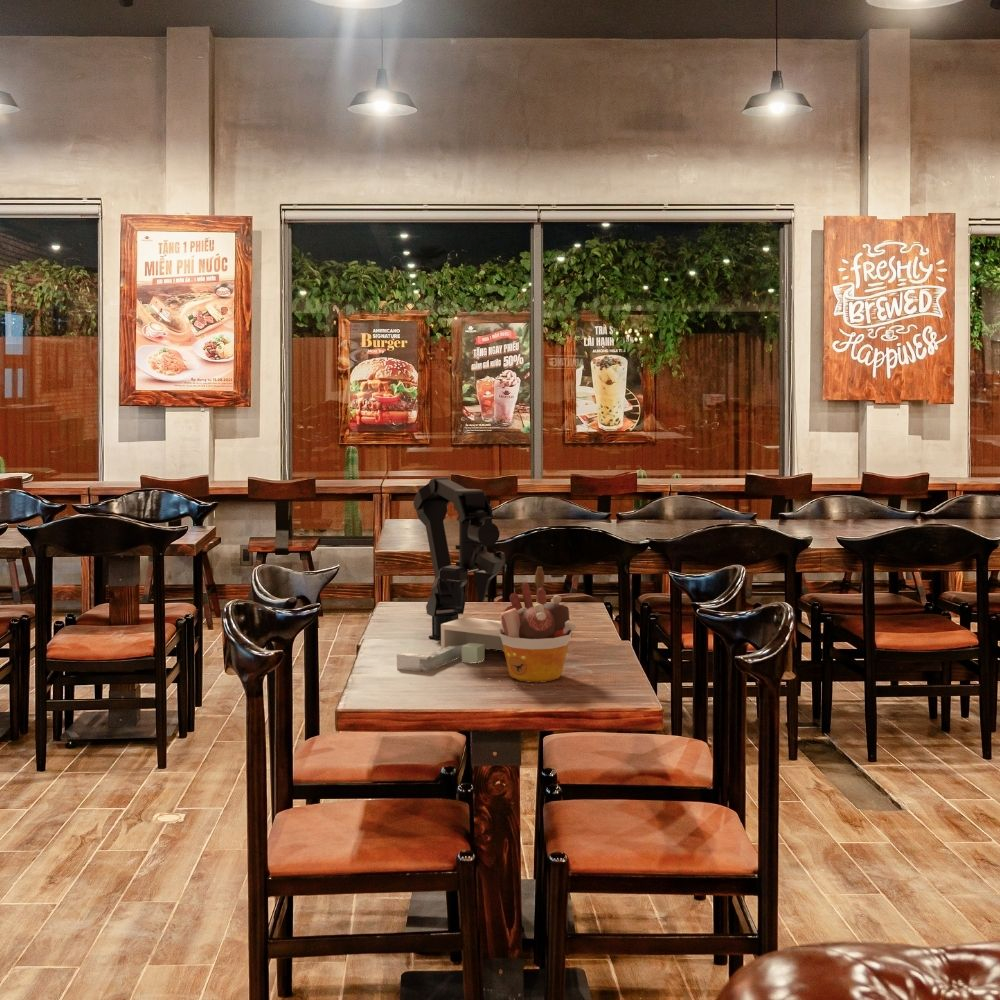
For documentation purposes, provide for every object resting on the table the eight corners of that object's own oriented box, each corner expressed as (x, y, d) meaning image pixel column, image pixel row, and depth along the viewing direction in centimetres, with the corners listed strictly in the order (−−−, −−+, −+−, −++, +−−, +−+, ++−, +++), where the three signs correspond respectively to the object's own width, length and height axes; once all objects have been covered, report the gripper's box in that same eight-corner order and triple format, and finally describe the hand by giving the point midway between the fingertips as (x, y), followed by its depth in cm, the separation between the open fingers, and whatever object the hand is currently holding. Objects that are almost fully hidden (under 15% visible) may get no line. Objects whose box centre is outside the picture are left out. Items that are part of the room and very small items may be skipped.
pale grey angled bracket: (396, 669, 265) (396, 654, 265) (433, 653, 281) (433, 639, 281) (446, 674, 259) (446, 659, 259) (481, 658, 276) (481, 643, 275)
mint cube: (461, 662, 271) (461, 646, 271) (469, 659, 275) (469, 642, 274) (477, 664, 270) (477, 647, 269) (484, 660, 273) (484, 644, 273)
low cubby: (441, 653, 281) (440, 624, 280) (465, 645, 290) (464, 617, 289) (511, 662, 270) (510, 632, 270) (533, 654, 279) (533, 625, 279)
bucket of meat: (582, 685, 249) (582, 594, 247) (507, 689, 246) (507, 597, 244) (560, 664, 268) (560, 580, 267) (490, 668, 265) (490, 582, 264)
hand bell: (557, 622, 319) (557, 565, 317) (549, 627, 311) (549, 569, 310) (529, 620, 322) (529, 563, 320) (520, 626, 314) (519, 568, 312)
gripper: (475, 548, 270) (475, 613, 272) (519, 539, 285) (518, 601, 287) (437, 544, 276) (437, 608, 278) (482, 535, 292) (482, 596, 293)
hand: (470, 603), depth 284 cm, fingers open, 9 cm apart
